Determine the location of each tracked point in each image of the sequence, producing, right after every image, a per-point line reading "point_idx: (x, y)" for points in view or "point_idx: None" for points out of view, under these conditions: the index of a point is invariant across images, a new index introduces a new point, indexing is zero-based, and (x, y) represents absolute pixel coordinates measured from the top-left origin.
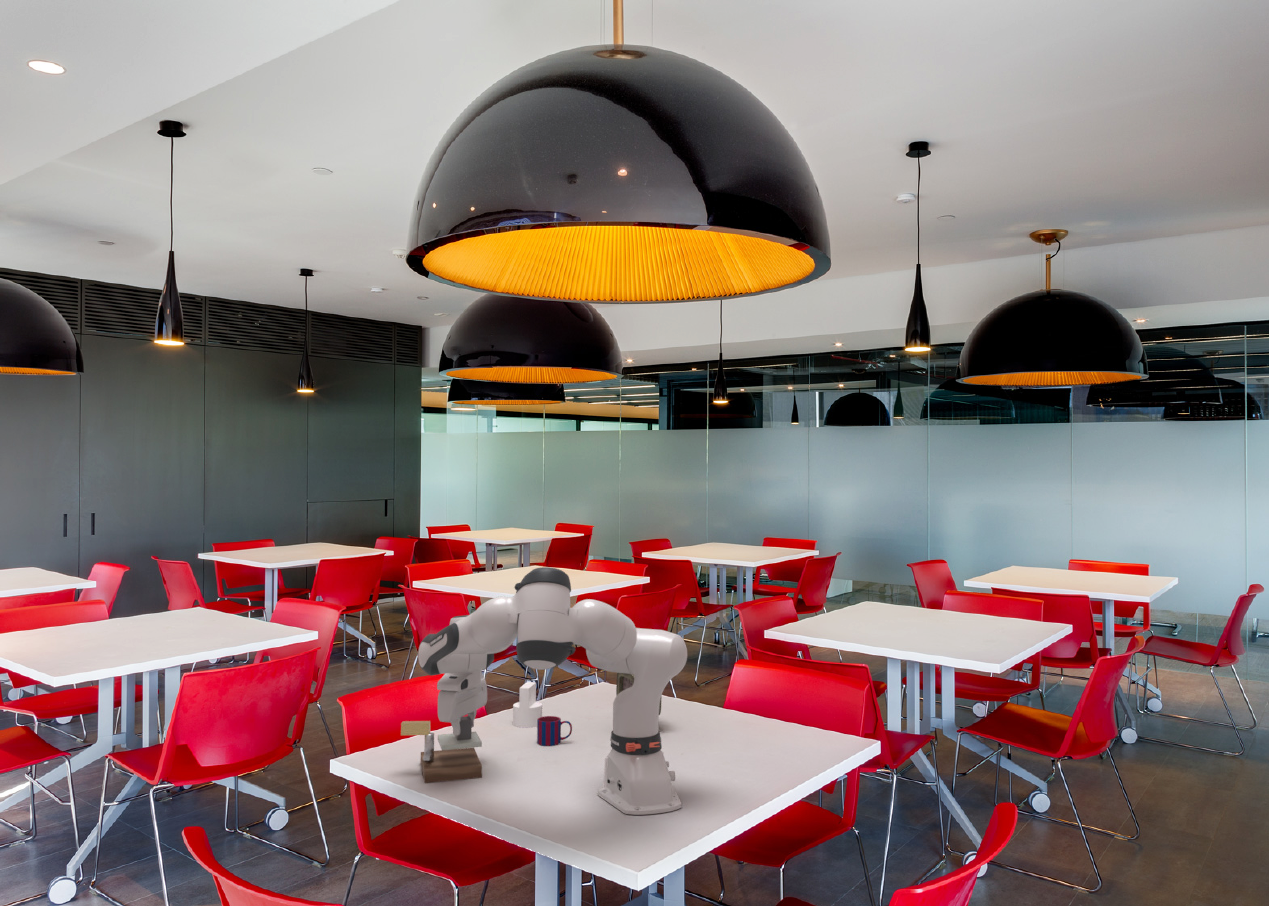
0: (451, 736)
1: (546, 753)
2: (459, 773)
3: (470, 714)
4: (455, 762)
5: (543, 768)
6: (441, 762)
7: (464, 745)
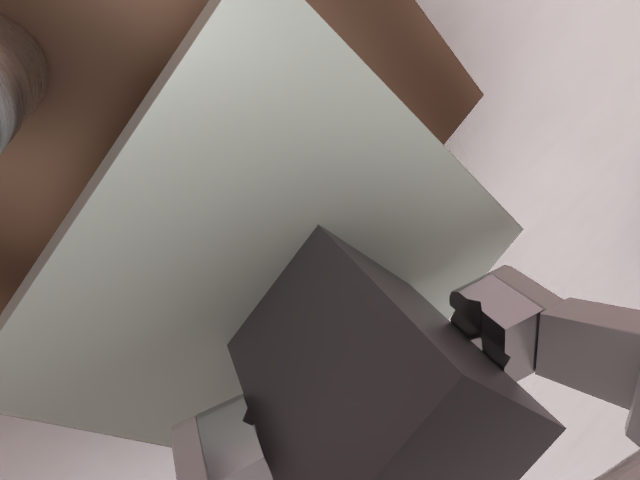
0: (300, 185)
1: (578, 282)
2: None
3: (637, 365)
4: None
5: None
6: (79, 183)
7: None
